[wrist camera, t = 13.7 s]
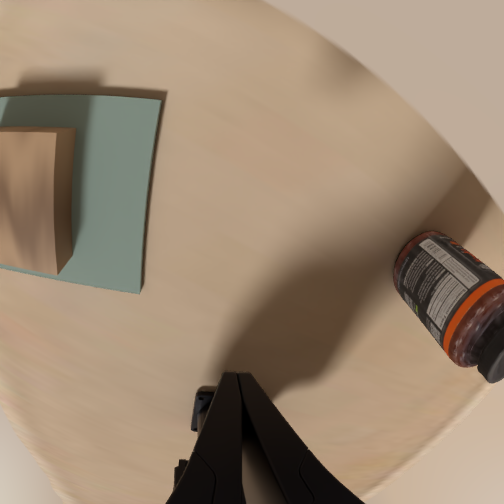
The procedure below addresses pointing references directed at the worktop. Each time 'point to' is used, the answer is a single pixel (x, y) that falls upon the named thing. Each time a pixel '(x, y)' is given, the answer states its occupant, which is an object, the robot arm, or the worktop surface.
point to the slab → (36, 197)
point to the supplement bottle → (455, 301)
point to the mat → (100, 180)
